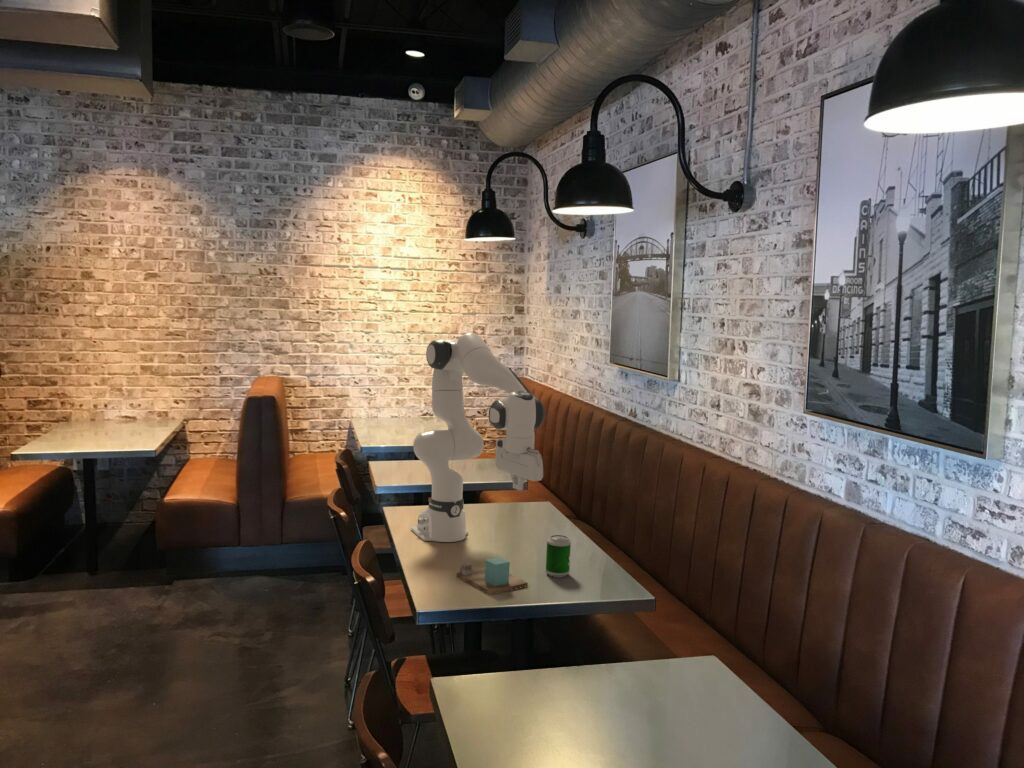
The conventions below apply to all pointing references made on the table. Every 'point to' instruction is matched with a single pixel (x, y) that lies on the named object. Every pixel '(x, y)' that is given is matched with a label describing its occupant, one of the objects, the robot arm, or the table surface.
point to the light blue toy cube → (497, 571)
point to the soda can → (558, 555)
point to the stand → (478, 580)
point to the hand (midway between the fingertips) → (517, 489)
